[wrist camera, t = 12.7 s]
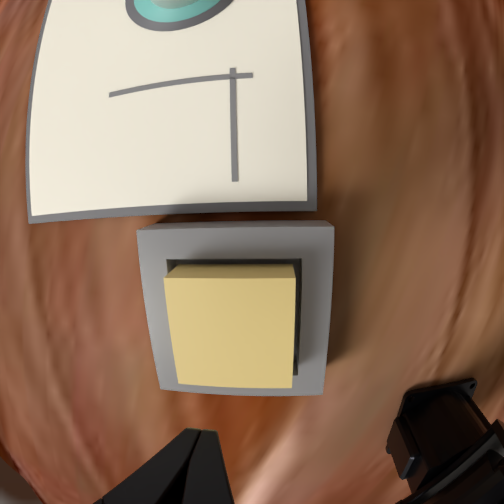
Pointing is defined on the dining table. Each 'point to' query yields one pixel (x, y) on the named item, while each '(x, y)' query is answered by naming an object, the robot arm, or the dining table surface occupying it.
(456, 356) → the dining table surface
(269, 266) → the button
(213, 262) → the button housing
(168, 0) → the marker
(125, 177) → the drawing board
